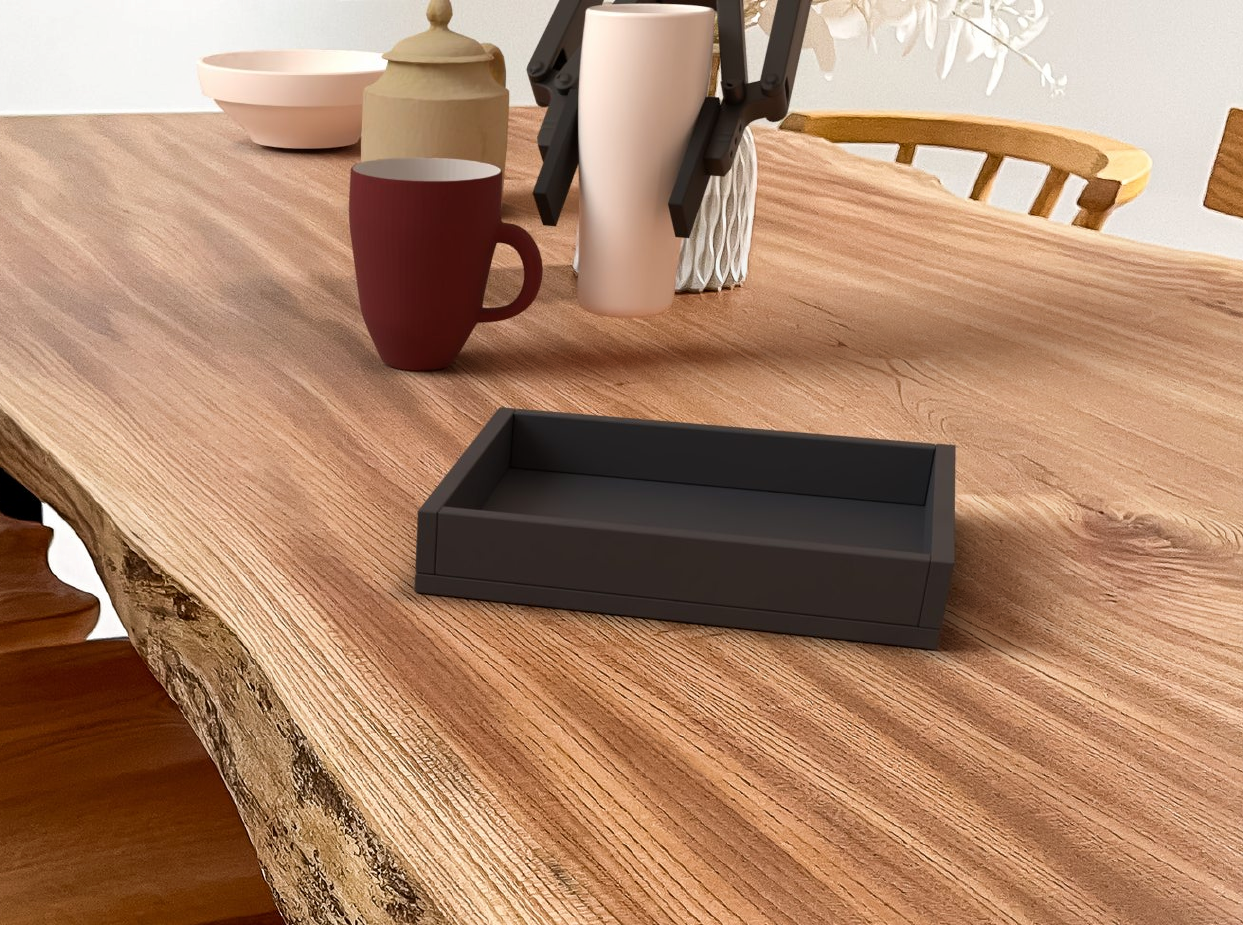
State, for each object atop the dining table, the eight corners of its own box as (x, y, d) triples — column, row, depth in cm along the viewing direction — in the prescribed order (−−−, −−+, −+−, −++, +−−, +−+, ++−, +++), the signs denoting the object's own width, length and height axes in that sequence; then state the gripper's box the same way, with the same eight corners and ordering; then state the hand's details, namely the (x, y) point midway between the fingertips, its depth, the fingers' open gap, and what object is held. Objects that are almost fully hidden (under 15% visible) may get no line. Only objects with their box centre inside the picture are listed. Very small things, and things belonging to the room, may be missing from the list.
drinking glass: (658, 328, 101) (688, 15, 94) (542, 314, 104) (562, 10, 97) (704, 305, 106) (736, 6, 99) (591, 292, 109) (615, 1, 102)
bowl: (343, 170, 162) (345, 78, 159) (156, 151, 171) (153, 63, 167) (449, 141, 176) (453, 57, 173) (271, 125, 185) (271, 44, 182)
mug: (540, 350, 108) (554, 161, 102) (530, 386, 101) (545, 185, 96) (356, 342, 109) (361, 155, 104) (334, 376, 102) (339, 178, 97)
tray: (941, 521, 82) (955, 444, 80) (937, 650, 69) (954, 563, 67) (494, 479, 87) (499, 406, 85) (413, 592, 74) (417, 509, 72)
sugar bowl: (365, 187, 155) (370, -20, 147) (500, 189, 154) (513, -19, 146) (356, 220, 142) (361, -5, 134) (504, 223, 141) (518, -3, 134)
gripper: (923, -89, 103) (801, 276, 99) (581, -95, 111) (456, 244, 107) (918, -205, 96) (788, 182, 93) (555, -202, 104) (421, 155, 101)
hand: (610, 214), depth 100 cm, fingers closed on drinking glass, 7 cm apart
